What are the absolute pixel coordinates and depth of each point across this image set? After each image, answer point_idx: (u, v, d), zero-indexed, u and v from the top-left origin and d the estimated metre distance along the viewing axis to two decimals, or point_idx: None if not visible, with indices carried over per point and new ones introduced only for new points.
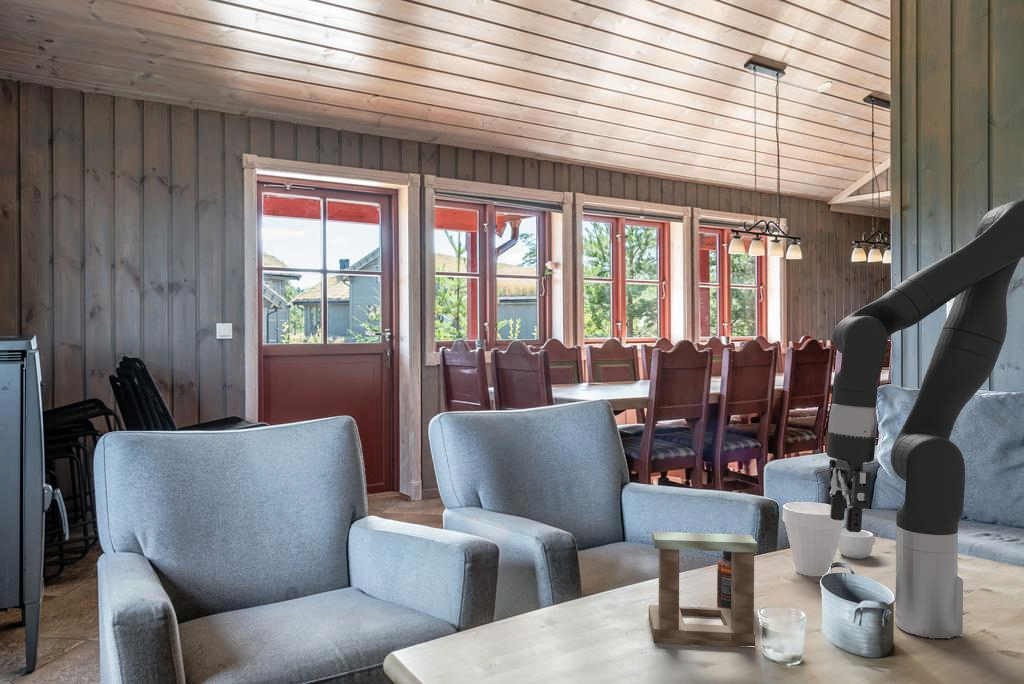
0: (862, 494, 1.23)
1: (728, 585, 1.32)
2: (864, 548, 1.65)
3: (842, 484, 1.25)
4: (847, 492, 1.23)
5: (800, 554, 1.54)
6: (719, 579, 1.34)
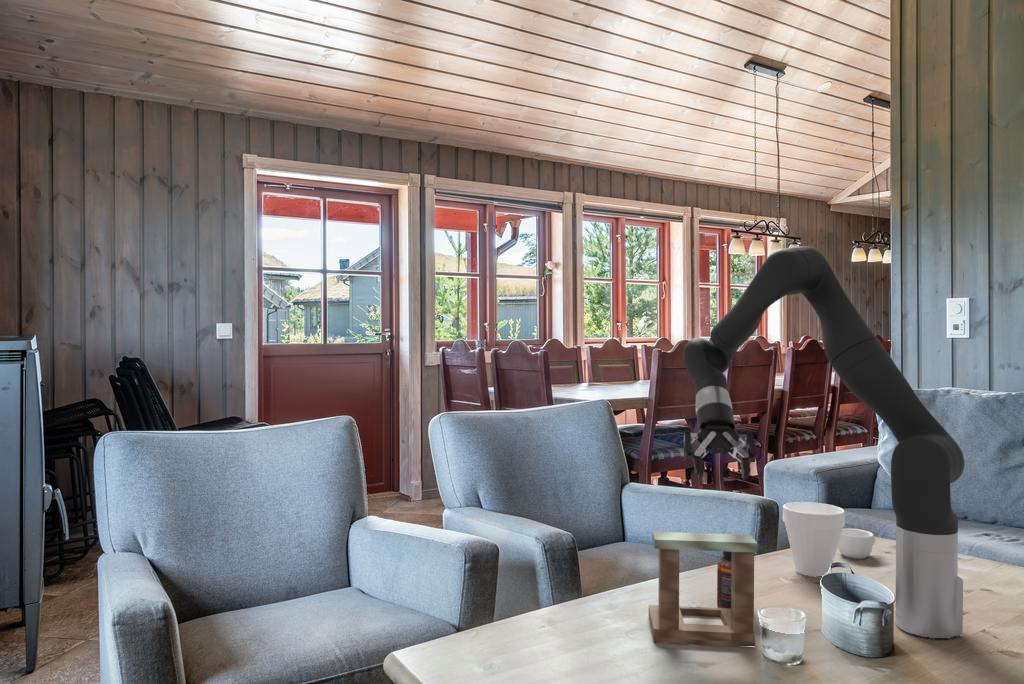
0: None
1: (728, 585, 1.32)
2: (864, 548, 1.65)
3: None
4: None
5: (800, 554, 1.54)
6: (719, 579, 1.34)
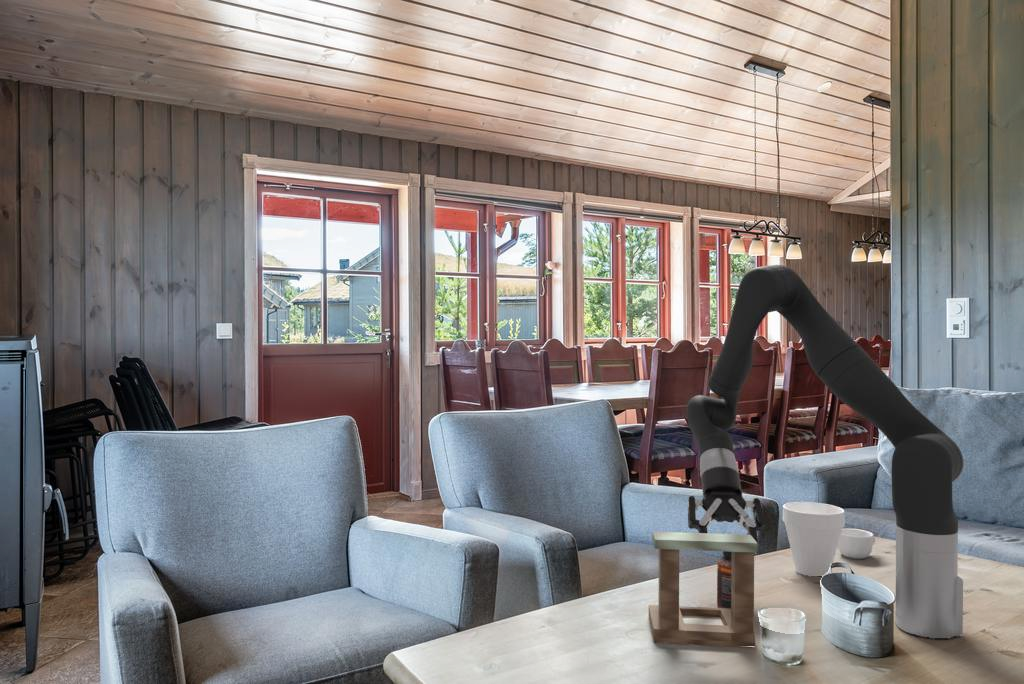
0: None
1: (728, 585, 1.32)
2: (864, 548, 1.65)
3: (710, 517, 1.46)
4: None
5: (800, 554, 1.54)
6: (719, 579, 1.34)
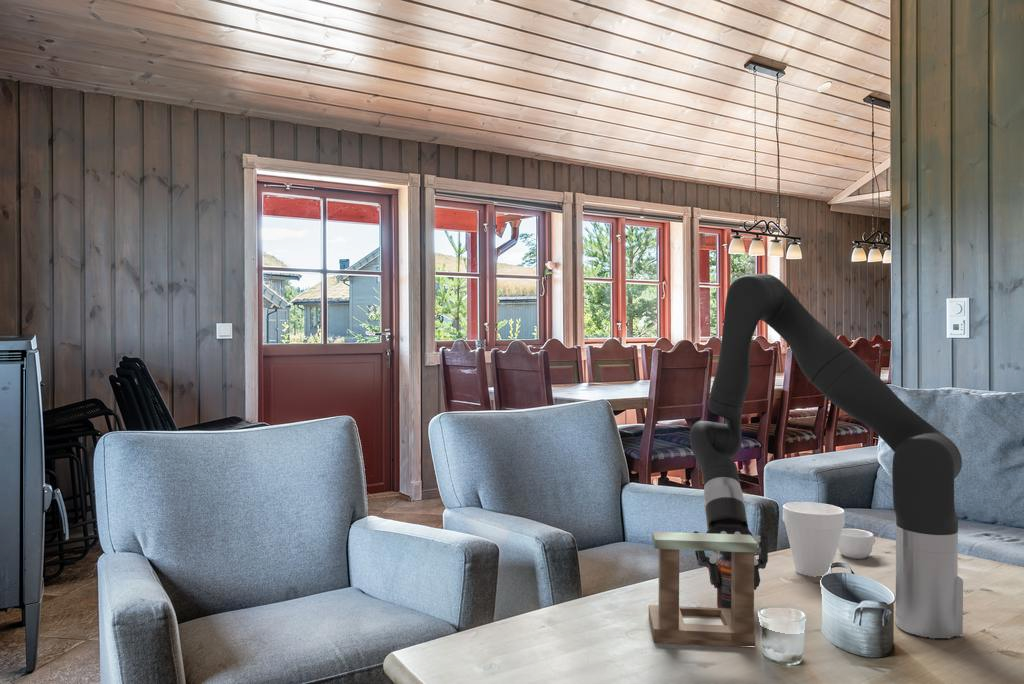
0: None
1: (728, 585, 1.32)
2: (864, 548, 1.65)
3: None
4: None
5: (800, 554, 1.54)
6: (719, 579, 1.34)
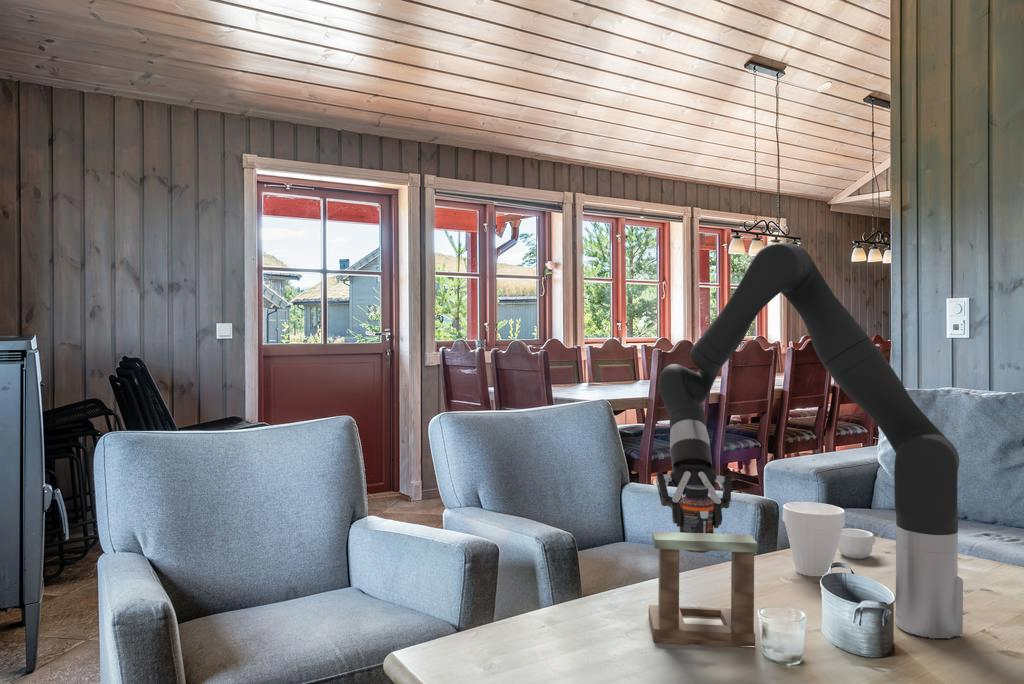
0: (676, 490, 1.35)
1: (689, 523, 1.31)
2: (864, 548, 1.65)
3: None
4: None
5: (800, 554, 1.54)
6: (681, 518, 1.33)
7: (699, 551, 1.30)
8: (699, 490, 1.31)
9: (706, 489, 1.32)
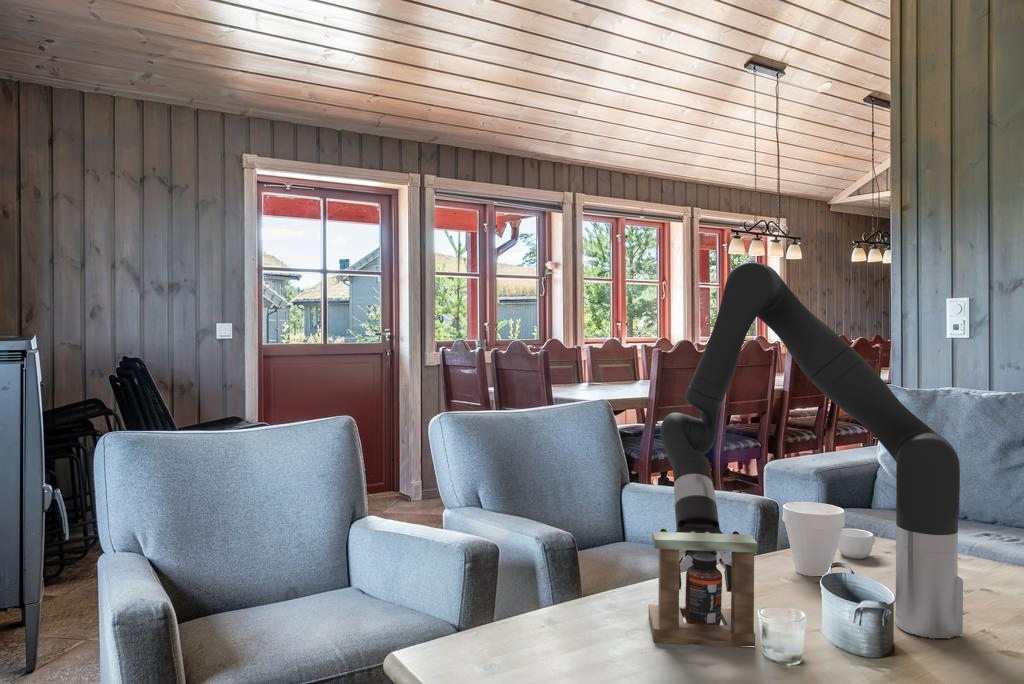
0: None
1: (696, 597, 1.23)
2: (864, 548, 1.65)
3: (684, 552, 1.30)
4: None
5: (800, 554, 1.54)
6: (687, 590, 1.25)
7: None
8: (707, 562, 1.23)
9: (714, 560, 1.24)
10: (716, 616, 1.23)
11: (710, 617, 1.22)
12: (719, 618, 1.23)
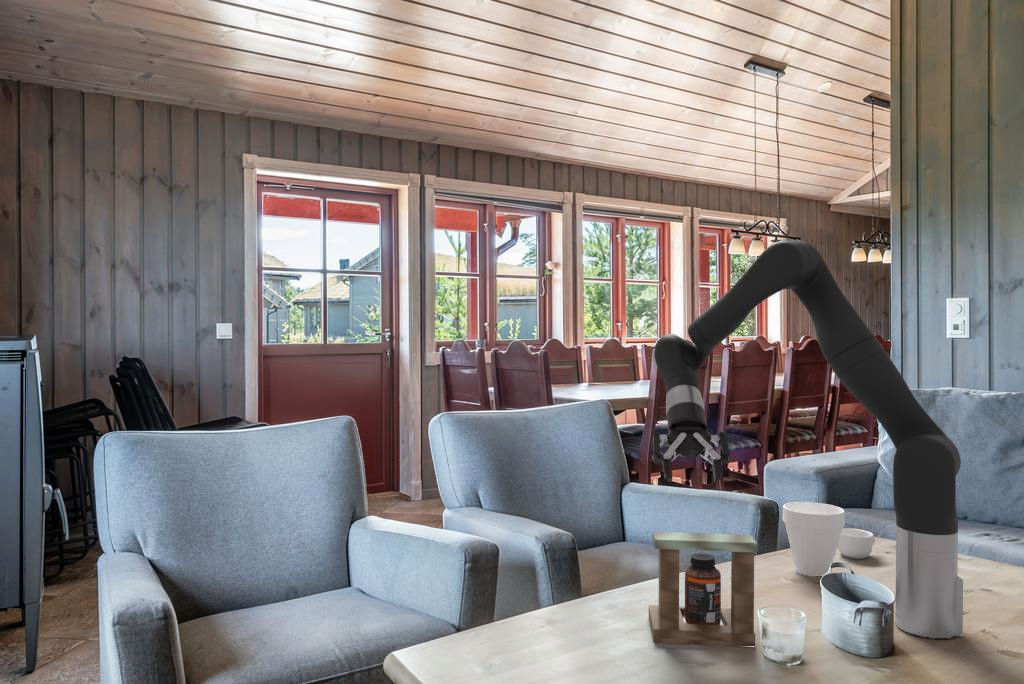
0: (669, 448, 1.42)
1: (695, 596, 1.23)
2: (864, 548, 1.65)
3: (675, 453, 1.44)
4: None
5: (800, 554, 1.54)
6: (686, 590, 1.25)
7: None
8: (705, 561, 1.23)
9: (713, 559, 1.24)
10: (716, 615, 1.23)
11: (709, 616, 1.22)
12: (719, 618, 1.23)
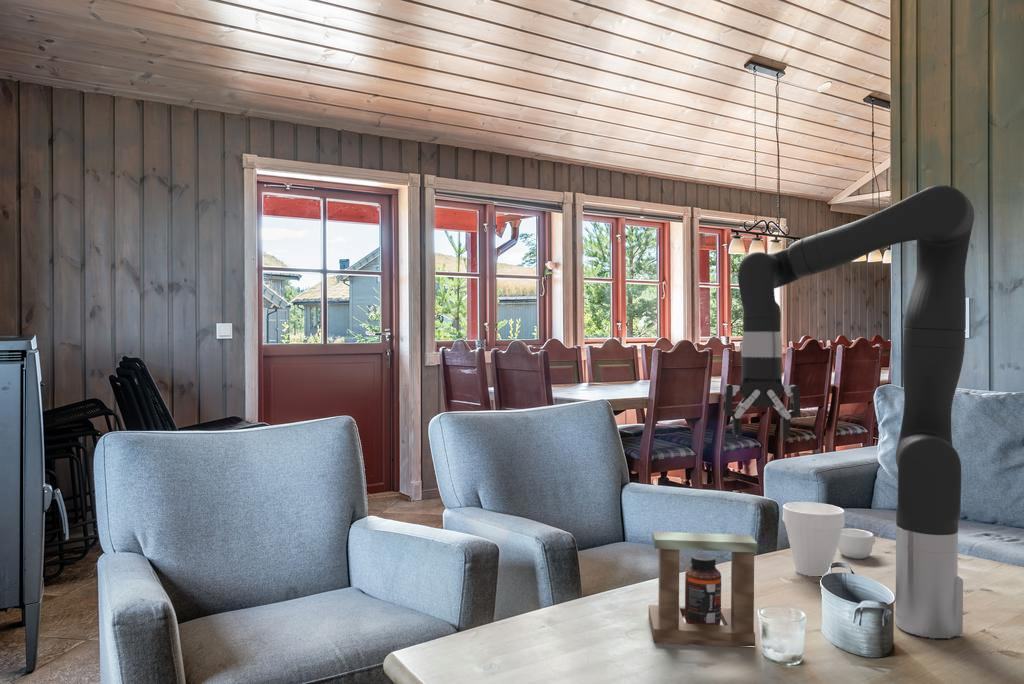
0: (740, 405, 1.44)
1: (695, 597, 1.23)
2: (864, 548, 1.65)
3: (746, 399, 1.46)
4: (739, 404, 1.46)
5: (800, 554, 1.54)
6: (686, 590, 1.25)
7: None
8: (706, 561, 1.23)
9: (713, 560, 1.24)
10: (716, 616, 1.23)
11: (709, 617, 1.22)
12: (719, 618, 1.23)
